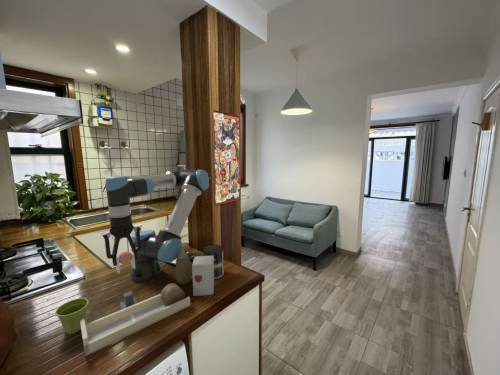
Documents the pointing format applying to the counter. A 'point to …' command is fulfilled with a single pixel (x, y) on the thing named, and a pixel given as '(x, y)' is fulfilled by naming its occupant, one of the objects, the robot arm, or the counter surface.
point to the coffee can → (216, 259)
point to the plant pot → (72, 314)
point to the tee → (128, 300)
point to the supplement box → (203, 275)
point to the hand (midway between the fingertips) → (126, 269)
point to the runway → (126, 322)
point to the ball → (125, 257)
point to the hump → (172, 294)
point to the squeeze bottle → (183, 268)
